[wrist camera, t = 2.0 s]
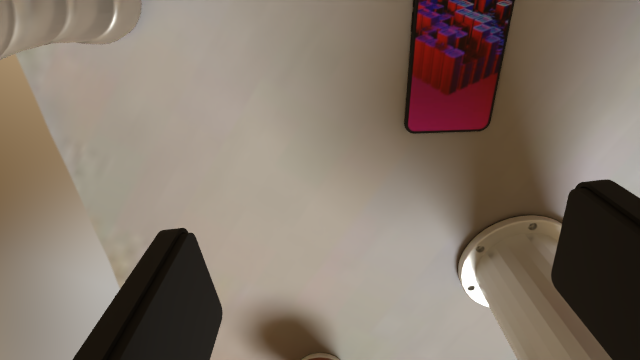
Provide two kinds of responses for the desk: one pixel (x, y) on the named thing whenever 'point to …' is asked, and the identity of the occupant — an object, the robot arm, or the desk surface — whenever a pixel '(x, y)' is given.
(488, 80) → the smartphone
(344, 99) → the desk surface
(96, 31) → the plastic bottle
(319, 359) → the coffee cup
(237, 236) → the desk surface
